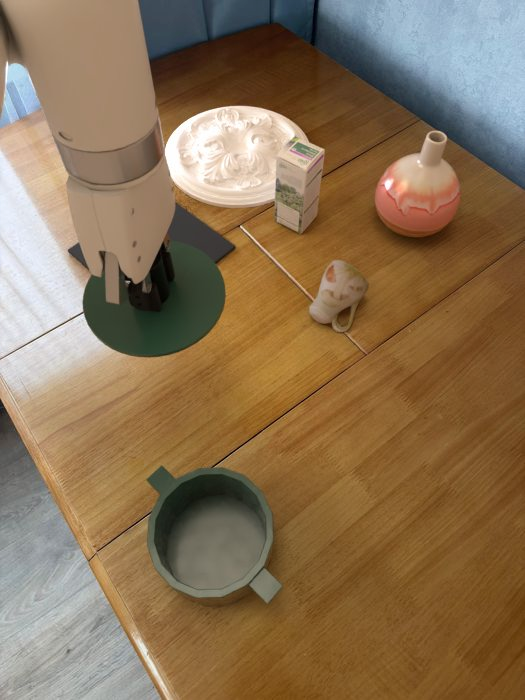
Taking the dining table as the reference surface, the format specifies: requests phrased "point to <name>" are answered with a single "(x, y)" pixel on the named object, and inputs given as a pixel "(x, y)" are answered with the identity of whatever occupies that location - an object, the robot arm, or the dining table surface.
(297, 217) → the syrup box
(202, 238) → the mat
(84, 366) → the dining table surface
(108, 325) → the lid
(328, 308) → the mug
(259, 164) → the ceiling medallion
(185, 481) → the pot
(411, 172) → the vase
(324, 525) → the dining table surface
